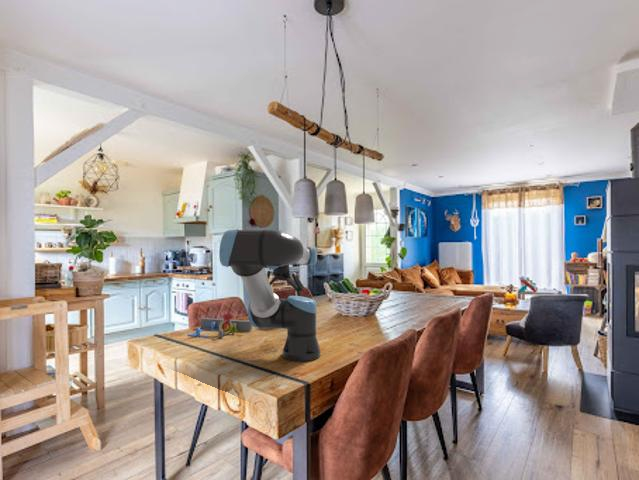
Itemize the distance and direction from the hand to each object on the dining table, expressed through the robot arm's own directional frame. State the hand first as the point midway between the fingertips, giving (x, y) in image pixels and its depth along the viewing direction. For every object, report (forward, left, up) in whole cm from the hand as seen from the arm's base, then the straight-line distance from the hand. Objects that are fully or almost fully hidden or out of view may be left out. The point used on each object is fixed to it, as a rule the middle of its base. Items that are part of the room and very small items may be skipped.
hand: (284, 299), depth 172 cm
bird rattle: (-6, +27, -18) cm, 33 cm away
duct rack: (-5, +33, -18) cm, 38 cm away
